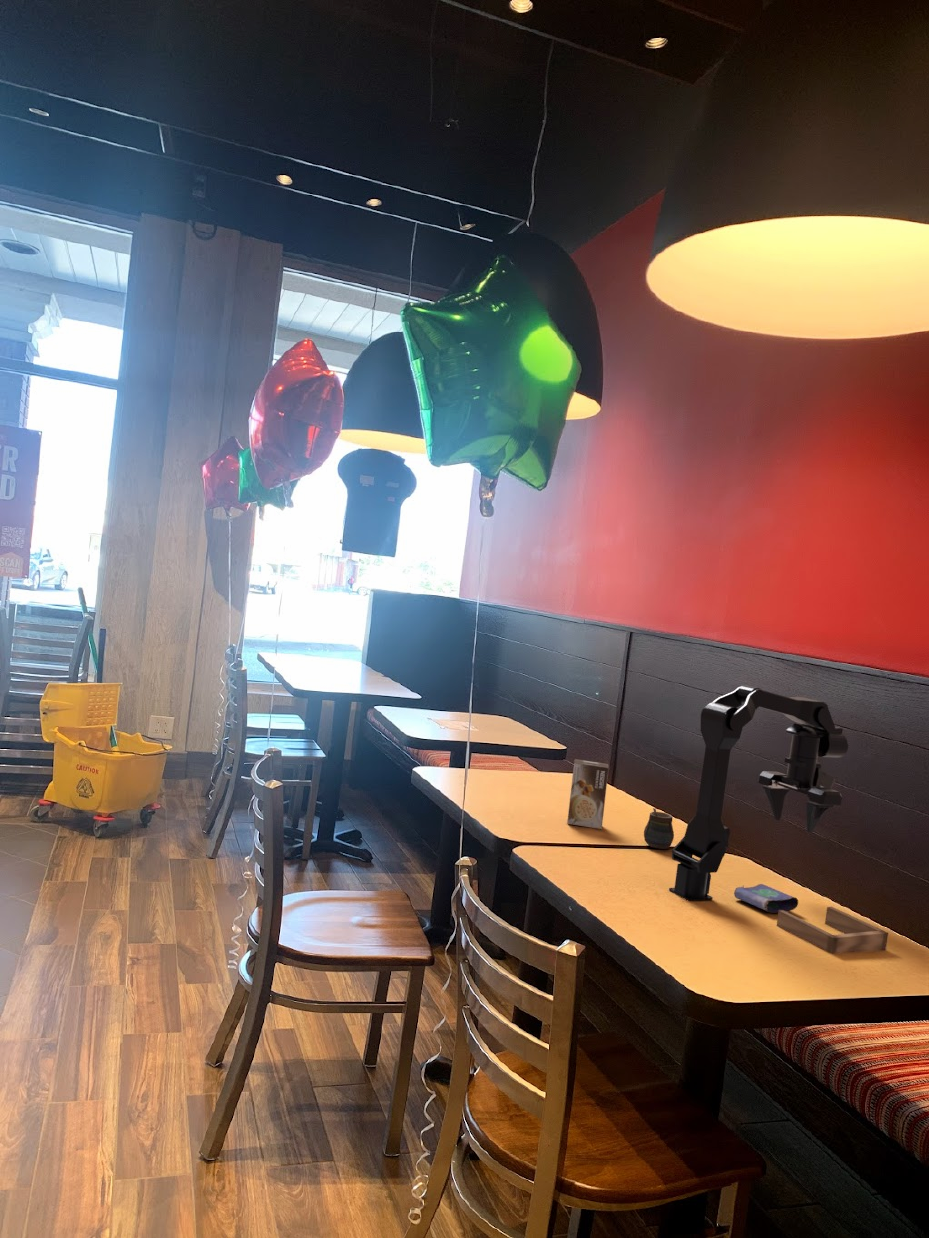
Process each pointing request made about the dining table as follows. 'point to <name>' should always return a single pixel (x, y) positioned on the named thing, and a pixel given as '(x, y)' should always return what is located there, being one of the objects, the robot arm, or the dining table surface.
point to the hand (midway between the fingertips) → (793, 826)
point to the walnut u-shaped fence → (854, 939)
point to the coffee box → (588, 794)
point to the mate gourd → (659, 830)
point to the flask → (766, 898)
